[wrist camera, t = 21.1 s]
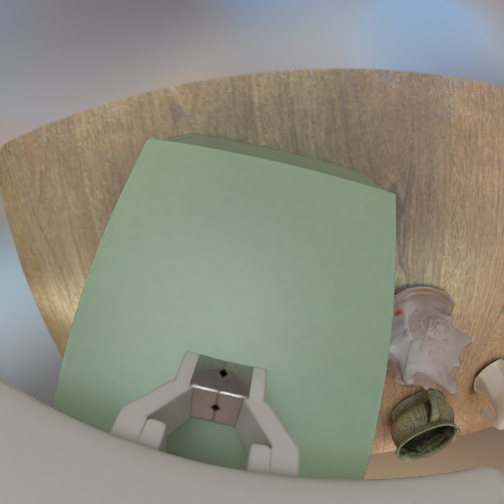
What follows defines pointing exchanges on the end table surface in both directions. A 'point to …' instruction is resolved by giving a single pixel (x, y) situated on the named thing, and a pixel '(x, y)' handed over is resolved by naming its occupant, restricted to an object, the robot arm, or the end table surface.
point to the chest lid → (241, 300)
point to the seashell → (424, 339)
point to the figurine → (492, 392)
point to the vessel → (423, 426)
